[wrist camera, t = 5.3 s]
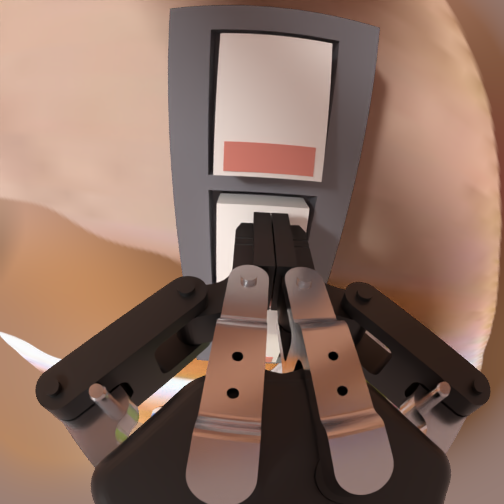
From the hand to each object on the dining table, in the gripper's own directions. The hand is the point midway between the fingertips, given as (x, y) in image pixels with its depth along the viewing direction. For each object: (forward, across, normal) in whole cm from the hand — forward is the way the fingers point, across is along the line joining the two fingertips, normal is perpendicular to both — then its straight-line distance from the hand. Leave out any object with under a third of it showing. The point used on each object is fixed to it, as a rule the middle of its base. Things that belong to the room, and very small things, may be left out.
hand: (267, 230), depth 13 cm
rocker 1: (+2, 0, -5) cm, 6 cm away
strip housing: (+6, 0, +3) cm, 7 cm away
